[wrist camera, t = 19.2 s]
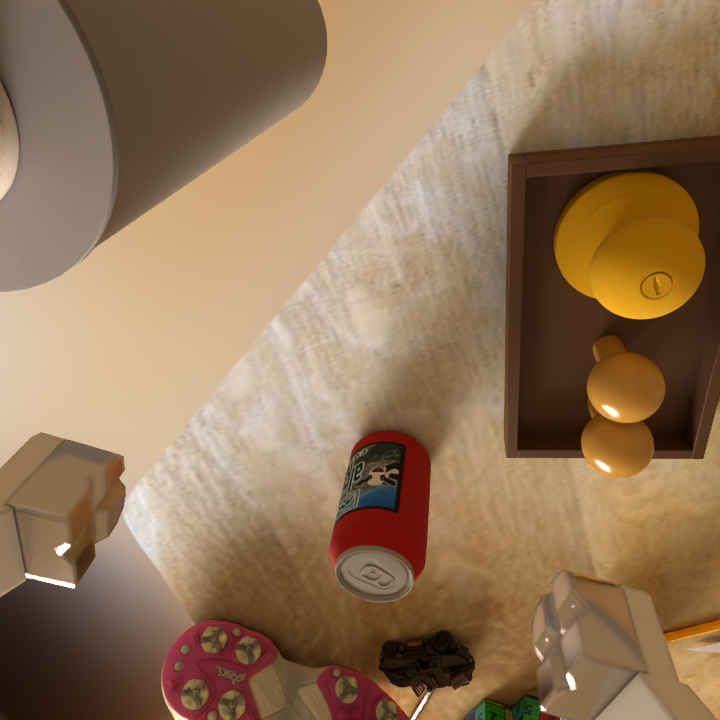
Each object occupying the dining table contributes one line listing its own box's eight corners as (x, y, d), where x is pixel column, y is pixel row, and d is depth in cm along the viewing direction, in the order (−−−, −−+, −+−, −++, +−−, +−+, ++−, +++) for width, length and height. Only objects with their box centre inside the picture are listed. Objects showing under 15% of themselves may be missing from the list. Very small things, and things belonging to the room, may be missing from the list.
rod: (454, 654, 61) (454, 660, 61) (406, 732, 72) (406, 738, 71) (448, 652, 61) (448, 659, 61) (401, 731, 72) (400, 737, 71)
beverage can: (381, 411, 46) (360, 527, 35) (448, 453, 47) (445, 577, 37) (336, 459, 49) (305, 577, 39) (400, 497, 50) (385, 621, 40)
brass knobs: (567, 424, 43) (584, 491, 37) (576, 320, 38) (598, 378, 32) (629, 424, 42) (657, 492, 36) (647, 317, 37) (681, 376, 32)
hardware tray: (504, 436, 45) (506, 458, 43) (508, 154, 34) (511, 164, 32) (690, 435, 43) (703, 459, 40) (762, 131, 31) (784, 141, 29)
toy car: (484, 666, 61) (483, 706, 57) (383, 675, 65) (376, 713, 62) (464, 627, 59) (462, 666, 55) (361, 639, 63) (353, 676, 59)
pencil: (742, 622, 52) (742, 625, 51) (648, 645, 56) (648, 648, 55) (737, 614, 52) (737, 617, 52) (644, 637, 56) (644, 640, 55)
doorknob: (682, 145, 32) (702, 270, 35) (538, 198, 34) (569, 309, 38) (737, 181, 26) (754, 328, 29) (556, 241, 28) (592, 370, 32)
